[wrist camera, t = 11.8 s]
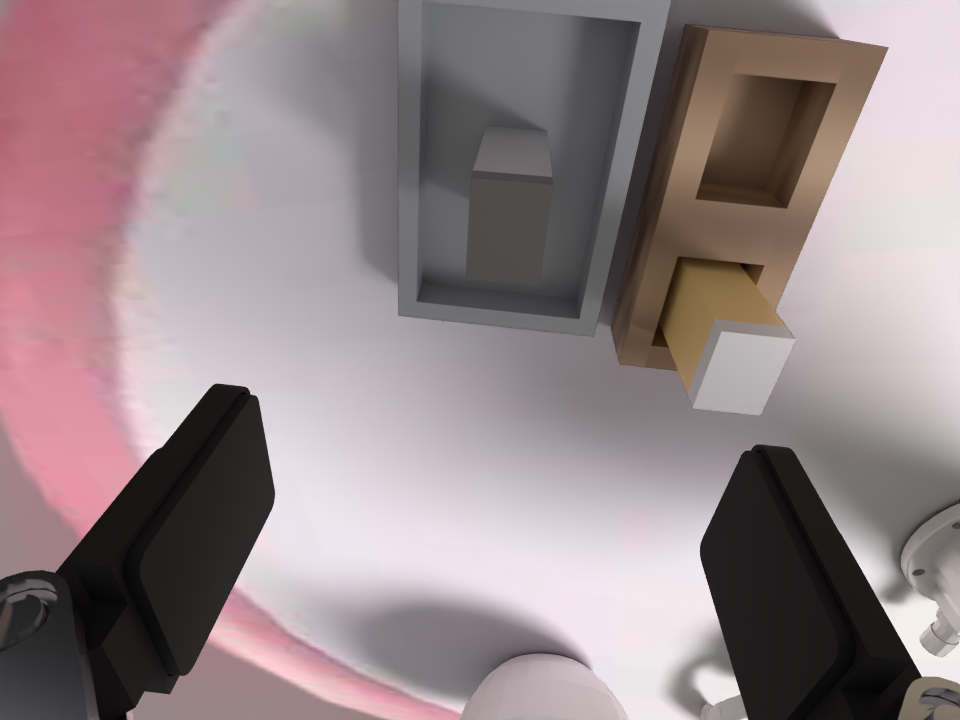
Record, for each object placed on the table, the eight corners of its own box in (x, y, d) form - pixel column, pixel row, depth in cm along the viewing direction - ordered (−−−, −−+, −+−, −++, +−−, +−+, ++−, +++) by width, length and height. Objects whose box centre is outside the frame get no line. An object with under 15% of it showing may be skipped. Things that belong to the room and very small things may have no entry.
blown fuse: (537, 210, 30) (539, 284, 22) (481, 205, 30) (465, 278, 22) (546, 131, 28) (553, 184, 20) (486, 125, 28) (470, 177, 20)
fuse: (706, 316, 32) (760, 415, 25) (654, 310, 32) (692, 408, 25) (729, 251, 30) (796, 339, 22) (673, 245, 30) (721, 331, 22)
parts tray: (589, 310, 34) (594, 336, 31) (408, 291, 34) (398, 315, 31) (657, -6, 25) (672, -5, 22) (410, -30, 25) (397, -32, 22)
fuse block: (725, 339, 34) (746, 378, 31) (610, 327, 34) (619, 364, 31) (841, 39, 25) (889, 47, 22) (685, 24, 25) (709, 29, 22)
